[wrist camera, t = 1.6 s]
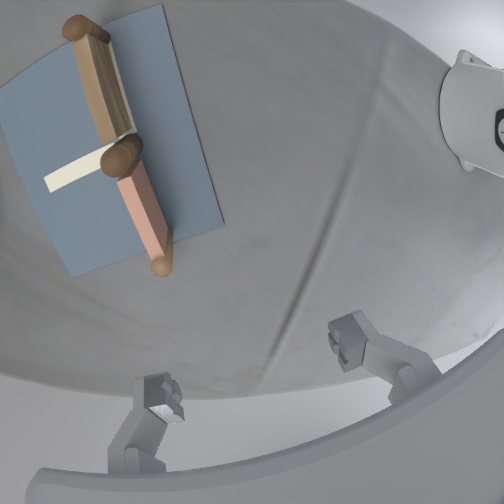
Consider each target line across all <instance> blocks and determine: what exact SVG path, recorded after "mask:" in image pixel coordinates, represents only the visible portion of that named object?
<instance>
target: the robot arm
mask: <svg viewBox="0 0 504 504" xmlns="http://www.w3.org/2000/svg"><path fill="white" fill-rule="evenodd" d="M440 120H441V126H442V131H443V134H444V137H445V140H446V142H447V144H448V146H449V147H450V149H451V150H452V151H453V152H454V153H455V154H456V155H457V156H458V158H459V160H460V163H461V166H462V168H463V169H464V170H466V171H468V172H470V171H472V170H473V169H475V168H477V167H479V168H481V169H483V170H486V171H488V172H490V173H492V174H495V175H497V176H499V177H501V178H504V69H498V68H494V67H492V66H490V65H489V64H487V63H486V62H484V61H483V60H481V59H480V58H478V57H476V56H475V55H473V54H472V53H470V52H468V51H465V50H460V51H459V53H458V56H457V60H456V63H455V65H454V66H453V67H452V68H451V69H450V71H449V72H448V73H447V75H446V77H445V79H444V82H443V85H442V89H441V95H440ZM328 329H329V331H330V332H329V334H328V340H329V343H330V346H331V349H332V351H333V353H334V354H336V355H338V362H339V364H340V366H341V368H342V370H343V371H344V373H345V372H348V371H350V370H353V369H355V368H358V367H360V366H362V367H363V368H365V369H367V370H368V371H370V372H372V373H373V374H375V375H377V376H379V377H380V378H382V379H384V380H385V381H387V382H389V383H391V384H392V385H393V387H392V389H391V391H390V394H389V396H388V399H389V401H390V402H391V404H392V405H391V406H389V407H387V408H385V409H384V410H382V411H380V412H378V413H376V414H374V415H371V416H370V417H367V418H365V419H363V420H361V421H359V422H357V423H354V424H352V425H350V426H347V427H345V428H343V429H340V430H338V431H336V432H333V433H331V434H328V435H326V436H323V437H320V438H317V439H315V440H312V441H309V442H306V443H303V444H300V445H297V446H294V447H291V448H288V449H285V450H281V451H278V452H274V453H271V454H267V455H263V456H259V457H255V458H251V459H247V460H243V461H238V462H234V463H228V464H223V465H218V466H212V467H206V468H199V469H192V470H184V471H174V472H166V465H165V463H164V462H162V461H160V460H158V459H156V458H154V457H155V454H156V452H157V450H158V447H159V445H160V442H161V440H162V438H163V436H164V433H165V431H166V428H167V426H168V425H167V424H172V423H177V422H182V421H185V420H184V411H183V407H182V406H180V403H181V401H182V393H181V390H180V387H179V385H178V383H177V382H176V381H175V380H172V379H171V375H170V374H169V373H168V372H164V373H159V374H154V375H149V376H143V377H138V378H135V381H134V397H133V410H132V411H130V412H129V414H128V416H127V417H126V419H125V421H124V422H123V424H122V426H121V427H120V429H119V431H118V432H117V434H116V435H115V437H114V439H113V441H112V442H111V444H110V445H109V447H108V474H101V473H86V472H75V471H65V470H57V469H51V468H40V469H39V470H38V471H37V472H36V474H35V475H34V477H33V478H32V479H31V481H30V483H29V484H28V486H27V489H26V494H25V504H504V328H503V329H501V330H499V331H498V332H497V333H496V334H495V335H493V336H492V337H491V338H490V339H489V340H488V341H486V342H485V343H484V344H483V345H482V346H480V347H479V348H478V349H477V350H475V351H474V352H473V353H472V354H470V355H469V356H468V357H466V358H465V359H464V360H463V361H461V362H460V363H458V364H457V365H456V366H454V367H453V368H451V369H450V370H448V371H447V372H446V373H444V374H443V375H442V374H441V372H440V371H439V369H438V368H437V366H436V365H435V364H434V362H433V361H432V359H431V358H430V357H429V355H428V354H427V353H425V352H423V351H421V350H418V349H416V348H413V347H411V346H409V345H406V344H404V343H402V342H399V341H397V340H395V339H392V338H390V337H388V336H385V335H381V336H380V335H379V333H378V332H377V330H376V329H375V328H374V326H373V325H372V323H371V322H370V321H369V319H368V318H367V316H366V315H365V314H364V312H363V311H362V310H358V311H355V312H353V313H351V314H347V315H345V316H343V317H340V318H338V319H335V320H333V321H330V322H329V323H328Z"/></svg>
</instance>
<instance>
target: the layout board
mask: <svg viewBox="0 0 504 504" xmlns="http://www.w3.org/2000/svg"><path fill="white" fill-rule="evenodd" d="M101 28H103V29H104V30H105V31H107V32H108V33H109V34H110V36H111V39H110V42H109V44H108V47H109V51H110V54H111V58H112V62H113V66H114V69H115V73H116V76H117V80H118V83H119V87H120V90H121V94H122V97H123V100H124V104H125V107H126V110H127V113H128V116H129V119H130V122H131V126H132V129H130V130H129V131H127V132H126V133H124V134H123V135H121V136H120V137H119V138H117V139H115V140H113V141H110V142H108V143H106V144H104V145H102V143H101V140H100V137H99V135H98V132H97V129H96V126H95V123H94V120H93V117H92V114H91V111H90V107H89V104H88V101H87V98H86V94H85V91H84V87H83V84H82V80H81V77H80V73H79V69H78V65H77V61H76V57H75V53H74V49H73V44H72V41H71V42H69V43H67V44H65V45H63V46H62V47H60V48H58V49H57V50H55V51H53V52H52V53H50V54H48V55H47V56H45V57H44V58H42V59H40V60H39V61H37V62H36V63H34V64H33V65H31V66H30V67H29V68H27V69H26V70H24V71H23V72H21V73H20V74H19V75H17V76H16V77H15V78H13V79H12V80H11V81H9V82H8V83H7V84H6V85H4V86H3V87H2V88H1V89H0V123H1V126H2V129H3V133H4V136H5V139H6V142H7V145H8V148H9V151H10V153H11V156H12V159H13V161H14V164H15V167H16V169H17V172H18V174H19V177H20V179H21V181H22V184H23V186H24V188H25V191H26V193H27V195H28V197H29V199H30V202H31V204H32V206H33V208H34V210H35V212H36V214H37V216H38V218H39V220H40V222H41V224H42V226H43V228H44V230H45V231H46V233H47V235H48V237H49V239H50V241H51V242H52V244H53V246H54V248H55V249H56V251H57V253H58V255H59V256H60V258H61V260H62V261H63V263H64V264H65V266H66V268H67V269H68V271H69V273H70V274H71V276H72V277H75V276H78V275H81V274H83V273H86V272H89V271H92V270H94V269H97V268H100V267H103V266H106V265H108V264H111V263H114V262H117V261H120V260H123V259H125V258H128V257H131V256H134V255H137V254H140V253H143V252H146V251H147V250H146V248H145V245H144V243H143V241H142V239H141V237H140V235H139V233H138V231H137V228H136V226H135V224H134V222H133V220H132V217H131V215H130V213H129V211H128V208H127V206H126V204H125V201H124V199H123V197H122V194H121V192H120V190H119V187H118V185H117V180H118V179H119V178H120V177H117V178H112V177H109V176H107V175H105V174H104V173H103V171H102V169H101V167H100V159H101V156H102V154H103V153H104V152H105V151H106V150H107V149H109V148H110V147H111V146H112V145H114V144H115V143H116V142H118V141H119V140H120V139H122V138H123V137H124V136H126V135H127V134H137V135H138V136H139V137H140V138H141V139H142V141H143V148H142V150H141V152H140V153H139V155H138V156H137V157H136V159H135V160H134V161H133V162H135V161H137V160H140V159H142V161H143V164H144V167H145V169H146V172H147V175H148V178H149V180H150V183H151V186H152V188H153V191H154V193H155V196H156V199H157V201H158V204H159V206H160V209H161V211H162V214H163V216H164V219H165V221H166V224H167V226H168V227H169V228H171V229H172V231H173V242H176V241H179V240H182V239H185V238H188V237H191V236H195V235H198V234H201V233H204V232H207V231H210V230H213V229H217V228H220V227H223V226H224V222H223V219H222V216H221V213H220V209H219V206H218V203H217V199H216V196H215V193H214V189H213V186H212V183H211V180H210V176H209V173H208V169H207V166H206V163H205V159H204V156H203V153H202V149H201V146H200V142H199V139H198V135H197V132H196V128H195V125H194V121H193V118H192V114H191V111H190V107H189V104H188V100H187V97H186V93H185V90H184V86H183V83H182V79H181V75H180V72H179V68H178V64H177V61H176V57H175V53H174V50H173V46H172V42H171V38H170V35H169V31H168V27H167V23H166V19H165V15H164V12H163V8H162V4H159V5H156V6H153V7H150V8H147V9H144V10H141V11H138V12H135V13H132V14H130V15H127V16H125V17H122V18H119V19H117V20H115V21H112V22H110V23H108V24H105V25H103V26H101Z"/></svg>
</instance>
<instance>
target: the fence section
mask: <svg viewBox="0 0 504 504" xmlns="http://www.w3.org/2000/svg"><path fill="white" fill-rule="evenodd" d="M117 185H118V187H119V190H120V192H121V194H122V197H123V199H124V201H125V204H126V206H127V208H128V211H129V213H130V215H131V217H132V220H133V222H134V224H135V226H136V228H137V231H138V233H139V235H140V237H141V239H142V241H143V243H144V245H145V248H146V250H147V252H148V254H149V256H150V258H151V260H152V263H151V270H152V272H153V274H155V275H156V276H159V277H166V276H168V275H169V274H170V273H171V272H172V260H173V231H172V229H171V228H169V227H168V226H167V224H166V221H165V219H164V216H163V214H162V211H161V209H160V206H159V204H158V201H157V199H156V196H155V193H154V191H153V188H152V186H151V183H150V180H149V178H148V175H147V172H146V169H145V167H144V164H143V161H142V159H140V160H137V161H135V162H133V163H132V164H131V166H130V167H129V168H128V170H127V171H126V173H125V174H123V175H122V176H120V178H119V179H118V180H117Z"/></svg>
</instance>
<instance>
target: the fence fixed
mask: <svg viewBox="0 0 504 504" xmlns="http://www.w3.org/2000/svg"><path fill="white" fill-rule="evenodd" d="M62 36H63V37H64V38H65V39H67V40H70V41H72V44H73V49H74V53H75V57H76V61H77V65H78V69H79V73H80V77H81V80H82V84H83V87H84V91H85V94H86V98H87V101H88V104H89V107H90V111H91V114H92V117H93V120H94V123H95V126H96V129H97V132H98V135H99V137H100V140H101V143H102V145H104V144H106V143H108V142H110V141H113V140H115V139H117V138H119V137H120V136H121V135H123V134H124V133H126V132H127V131H129V130H130V129H132V126H131V122H130V119H129V116H128V113H127V110H126V107H125V104H124V100H123V97H122V94H121V90H120V87H119V83H118V80H117V76H116V73H115V69H114V66H113V62H112V58H111V54H110V51H109V47H108V44H109V42H110V39H111V36H110V34H109V33H108V32H107V31H105V30H104V29H103V28H101V27H100V26H98V25H97V24H95V23H94V22H92V21H91V20H90V19H88V18H87V17H85V16H83V15H75V16H73V17H71V18H69V19H68V20H67V21H66V22H65V24H64V26H63V28H62ZM142 148H143V141H142V139H141V138H140V137H139V136H138V135H137V134H127V135H126V136H124V137H123V138H122V139H120V140H119V141H118V142H116V143H115V144H114V145H112V146H111V147H110V148H109V149H107V150H106V151H105V152H104V153H103V154H102V156H101V159H100V167H101V169H102V171H103V173H104V174H105V175H107V176H109V177H112V178H117V177H120V176H122V175H123V174H125V173H126V171H127V170H128V168H129V167H130V166H131V164H132V163H133V161H134V160H135V159H136V157H137V156H138V155H139V153H140V152H141V150H142Z"/></svg>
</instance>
